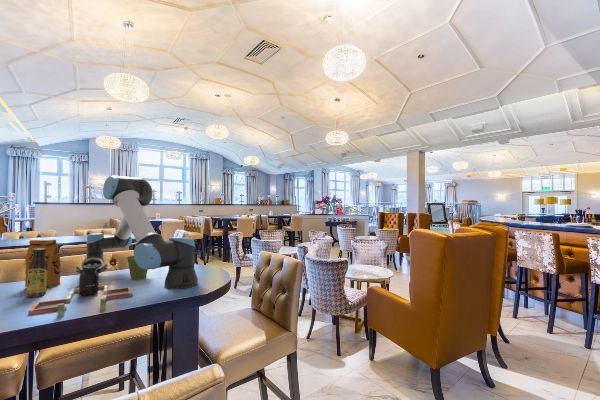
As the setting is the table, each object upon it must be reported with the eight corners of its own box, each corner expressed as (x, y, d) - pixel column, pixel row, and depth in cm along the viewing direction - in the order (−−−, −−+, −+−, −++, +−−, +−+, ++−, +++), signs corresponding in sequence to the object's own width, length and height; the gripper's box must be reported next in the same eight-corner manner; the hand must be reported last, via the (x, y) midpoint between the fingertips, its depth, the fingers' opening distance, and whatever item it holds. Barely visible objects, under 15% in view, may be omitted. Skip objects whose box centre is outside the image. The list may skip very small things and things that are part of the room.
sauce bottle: (24, 298, 121) (25, 250, 121) (29, 294, 126) (30, 248, 127) (44, 296, 124) (45, 249, 124) (49, 292, 129) (50, 247, 130)
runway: (44, 295, 125) (44, 286, 125) (130, 285, 141) (130, 277, 141) (22, 322, 97) (23, 309, 97) (133, 305, 114) (133, 294, 114)
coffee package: (50, 288, 135) (51, 240, 136) (20, 289, 134) (21, 241, 134) (64, 282, 145) (65, 238, 146) (36, 283, 144) (37, 238, 144)
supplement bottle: (88, 297, 123) (88, 268, 123) (74, 296, 124) (75, 267, 124) (102, 292, 129) (102, 265, 130) (89, 291, 131) (89, 264, 131)
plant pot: (138, 281, 148) (139, 259, 148) (120, 280, 151) (120, 258, 151) (156, 276, 159) (156, 255, 160) (138, 274, 163) (139, 254, 163)
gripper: (108, 271, 155) (106, 281, 134) (77, 274, 148) (70, 285, 128) (108, 257, 155) (106, 265, 135) (77, 259, 148) (71, 268, 128)
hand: (89, 274), depth 131 cm, fingers closed
